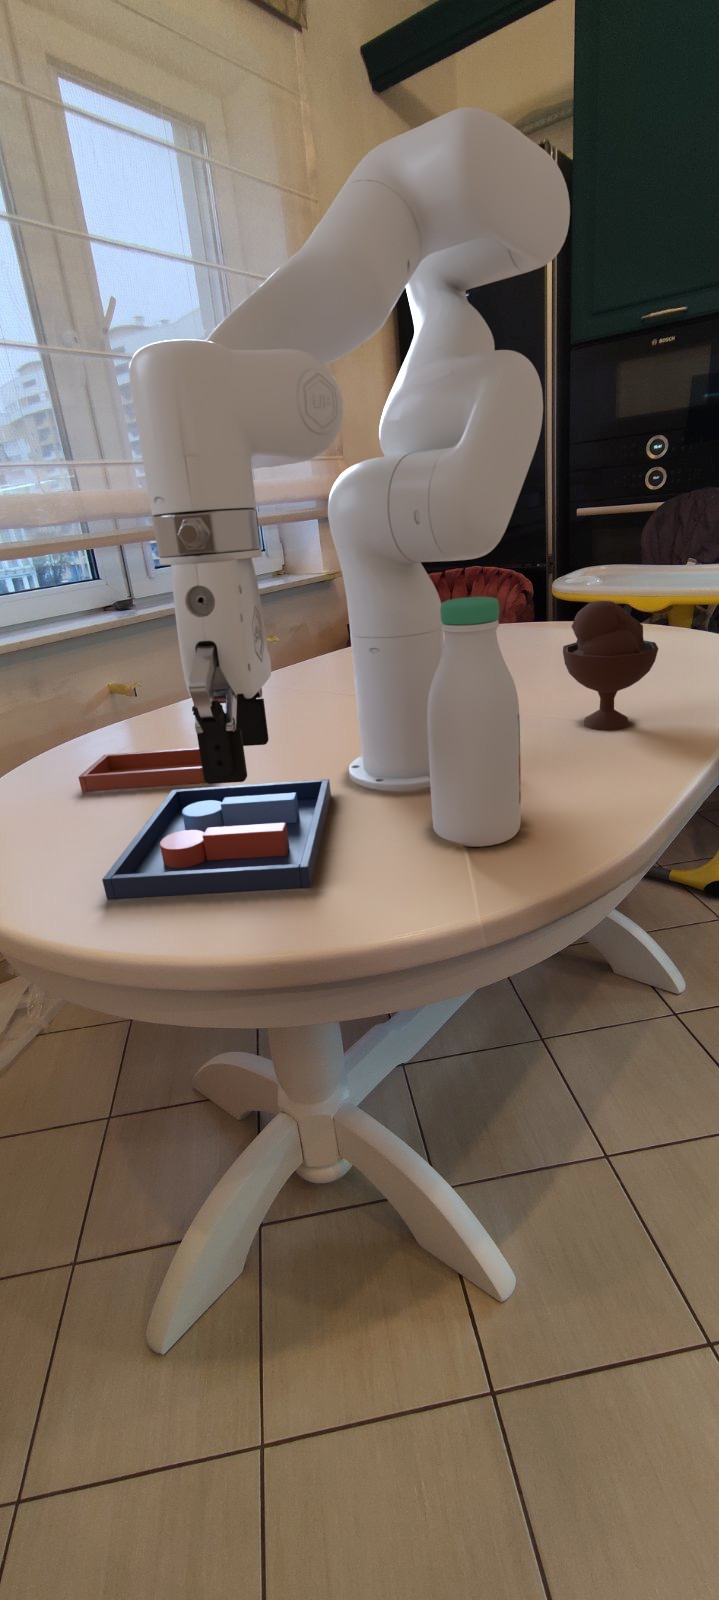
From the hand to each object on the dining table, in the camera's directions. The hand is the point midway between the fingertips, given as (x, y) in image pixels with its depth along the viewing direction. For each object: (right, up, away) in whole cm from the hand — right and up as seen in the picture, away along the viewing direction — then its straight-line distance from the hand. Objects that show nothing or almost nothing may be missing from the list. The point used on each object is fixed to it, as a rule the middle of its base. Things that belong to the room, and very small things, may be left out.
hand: (239, 761), depth 59 cm
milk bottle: (+20, -6, +5) cm, 22 cm away
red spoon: (-2, -8, +4) cm, 9 cm away
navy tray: (-2, -7, +7) cm, 10 cm away
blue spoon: (-2, -5, +10) cm, 12 cm away
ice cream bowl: (+40, +6, +31) cm, 51 cm away
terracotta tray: (-14, -1, +26) cm, 30 cm away
